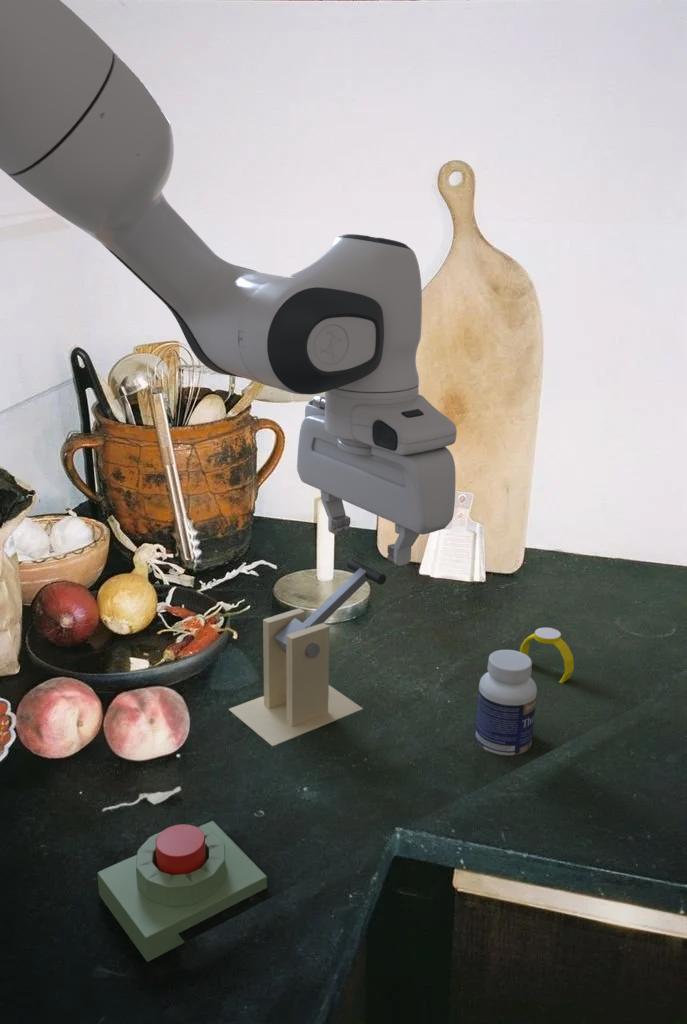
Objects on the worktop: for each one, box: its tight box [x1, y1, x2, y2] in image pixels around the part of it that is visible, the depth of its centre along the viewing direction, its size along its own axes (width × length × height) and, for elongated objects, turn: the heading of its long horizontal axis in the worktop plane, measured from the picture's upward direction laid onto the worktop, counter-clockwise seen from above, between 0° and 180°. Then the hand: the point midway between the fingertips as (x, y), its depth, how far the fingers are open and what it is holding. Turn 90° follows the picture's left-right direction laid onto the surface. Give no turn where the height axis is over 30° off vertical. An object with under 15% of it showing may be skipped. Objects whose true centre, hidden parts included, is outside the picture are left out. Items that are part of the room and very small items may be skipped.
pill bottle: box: [474, 649, 538, 756], centre depth 88 cm, size 5×5×10 cm
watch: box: [519, 627, 575, 684], centre depth 101 cm, size 6×3×6 cm, turn 47°
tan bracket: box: [228, 607, 364, 747], centre depth 92 cm, size 11×8×11 cm
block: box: [96, 820, 268, 963], centre depth 70 cm, size 10×8×4 cm
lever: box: [275, 558, 387, 653], centre depth 93 cm, size 12×5×2 cm, turn 128°
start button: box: [156, 823, 206, 875], centre depth 69 cm, size 4×4×2 cm
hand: (367, 547), depth 94 cm, fingers open, 8 cm apart
